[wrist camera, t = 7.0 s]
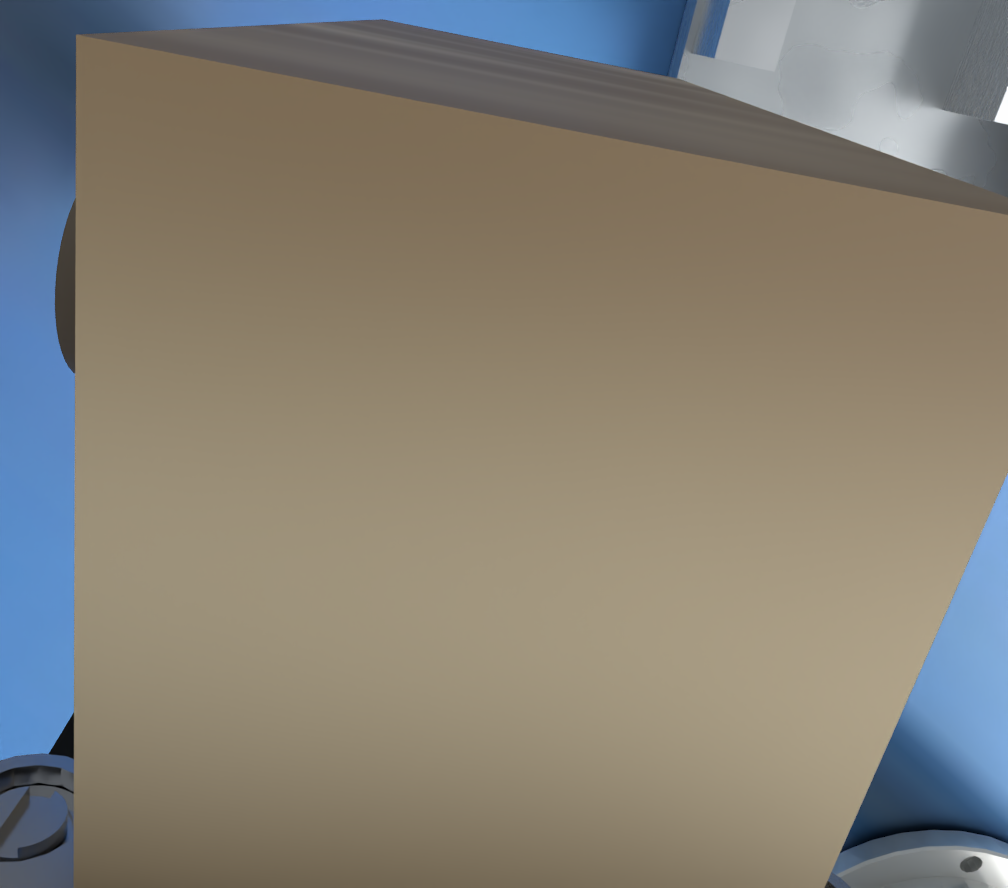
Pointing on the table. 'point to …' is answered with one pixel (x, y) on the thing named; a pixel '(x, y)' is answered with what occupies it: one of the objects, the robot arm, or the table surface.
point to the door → (501, 464)
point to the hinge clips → (866, 73)
